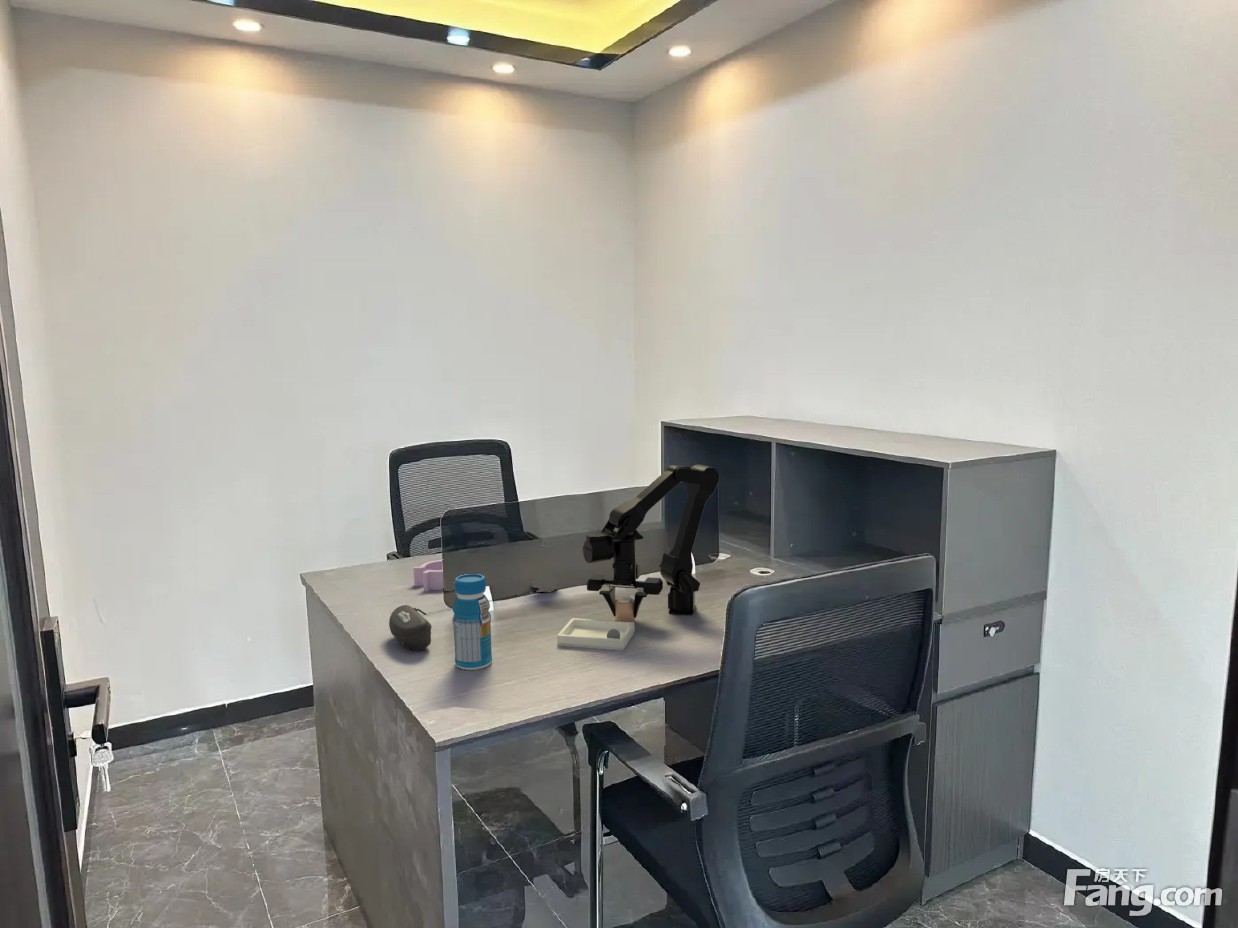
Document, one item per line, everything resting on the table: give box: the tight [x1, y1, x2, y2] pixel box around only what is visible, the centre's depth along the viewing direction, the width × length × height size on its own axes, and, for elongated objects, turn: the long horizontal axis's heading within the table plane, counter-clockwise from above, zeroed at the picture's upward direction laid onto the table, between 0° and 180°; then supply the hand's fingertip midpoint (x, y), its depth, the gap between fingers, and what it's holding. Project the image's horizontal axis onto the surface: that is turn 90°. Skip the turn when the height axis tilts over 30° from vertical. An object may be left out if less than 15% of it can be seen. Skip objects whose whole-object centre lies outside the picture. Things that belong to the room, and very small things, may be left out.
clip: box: [412, 559, 443, 592], centre depth 232 cm, size 20×12×7 cm, turn 129°
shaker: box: [615, 596, 636, 624], centre depth 200 cm, size 5×5×6 cm
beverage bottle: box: [451, 574, 493, 671], centre depth 174 cm, size 8×8×20 cm
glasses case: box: [388, 604, 433, 651], centre depth 188 cm, size 18×10×8 cm, turn 31°
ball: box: [607, 629, 620, 639], centre depth 185 cm, size 3×3×3 cm
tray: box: [556, 617, 635, 651], centre depth 189 cm, size 16×12×2 cm
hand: (625, 616), depth 201 cm, fingers closed on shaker, 5 cm apart
